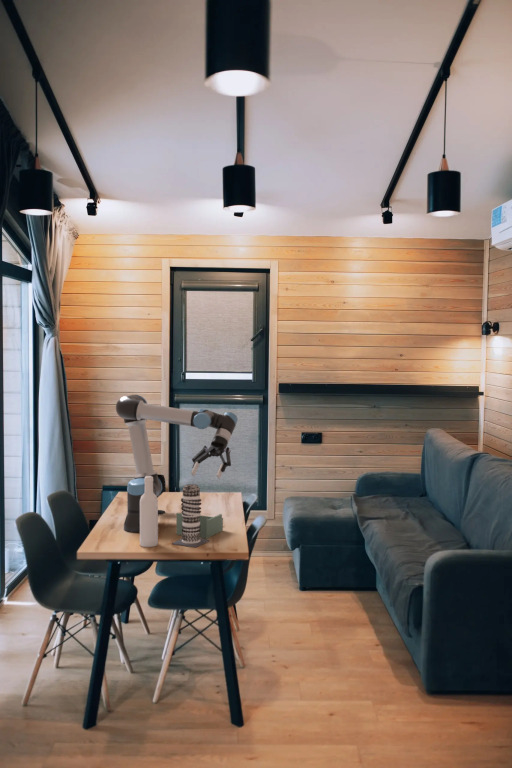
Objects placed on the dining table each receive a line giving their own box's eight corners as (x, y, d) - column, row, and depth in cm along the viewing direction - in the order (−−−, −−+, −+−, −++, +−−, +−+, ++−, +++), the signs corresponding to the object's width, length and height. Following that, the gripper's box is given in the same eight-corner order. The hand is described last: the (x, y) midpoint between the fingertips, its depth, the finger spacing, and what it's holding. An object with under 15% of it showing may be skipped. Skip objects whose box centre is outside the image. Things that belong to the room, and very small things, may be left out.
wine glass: (146, 515, 335) (146, 477, 335) (145, 511, 345) (145, 474, 345) (166, 514, 338) (166, 476, 338) (164, 510, 348) (164, 473, 348)
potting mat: (172, 544, 280) (172, 543, 280) (186, 537, 291) (186, 536, 291) (195, 547, 275) (195, 546, 275) (209, 540, 286) (209, 539, 286)
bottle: (158, 542, 284) (158, 475, 283) (158, 546, 276) (158, 478, 275) (139, 542, 283) (139, 475, 282) (139, 547, 275) (139, 478, 274)
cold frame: (176, 534, 297) (176, 513, 297) (193, 526, 311) (193, 506, 311) (206, 538, 290) (206, 516, 290) (222, 530, 305) (222, 509, 304)
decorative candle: (182, 544, 278) (182, 487, 277) (179, 539, 287) (179, 483, 286) (203, 543, 280) (203, 486, 280) (199, 537, 289) (199, 482, 289)
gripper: (246, 446, 306) (231, 482, 293) (201, 443, 316) (185, 478, 303) (241, 436, 301) (226, 473, 288) (196, 433, 312) (179, 468, 299)
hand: (205, 475), depth 296 cm, fingers open, 13 cm apart
